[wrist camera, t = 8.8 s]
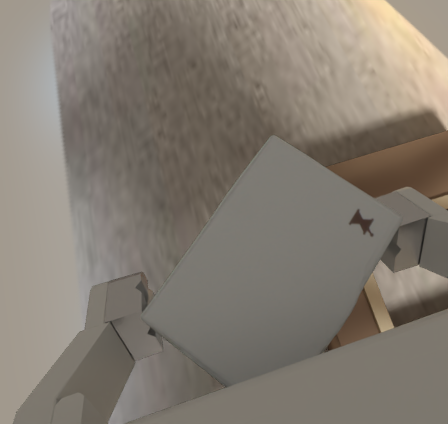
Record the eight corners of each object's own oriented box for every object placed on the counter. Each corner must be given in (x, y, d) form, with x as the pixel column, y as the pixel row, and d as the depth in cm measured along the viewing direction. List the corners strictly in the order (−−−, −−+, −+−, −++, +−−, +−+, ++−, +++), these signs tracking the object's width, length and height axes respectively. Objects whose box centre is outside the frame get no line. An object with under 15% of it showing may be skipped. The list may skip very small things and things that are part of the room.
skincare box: (239, 214, 20) (276, 123, 9) (296, 254, 20) (415, 215, 8) (180, 296, 19) (131, 319, 8) (239, 341, 19) (285, 436, 7)
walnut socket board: (567, 378, 27) (631, 396, 23) (364, 453, 26) (393, 487, 22) (452, 139, 31) (489, 117, 27) (273, 193, 30) (282, 178, 26)
